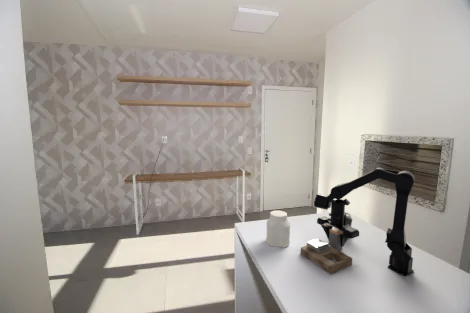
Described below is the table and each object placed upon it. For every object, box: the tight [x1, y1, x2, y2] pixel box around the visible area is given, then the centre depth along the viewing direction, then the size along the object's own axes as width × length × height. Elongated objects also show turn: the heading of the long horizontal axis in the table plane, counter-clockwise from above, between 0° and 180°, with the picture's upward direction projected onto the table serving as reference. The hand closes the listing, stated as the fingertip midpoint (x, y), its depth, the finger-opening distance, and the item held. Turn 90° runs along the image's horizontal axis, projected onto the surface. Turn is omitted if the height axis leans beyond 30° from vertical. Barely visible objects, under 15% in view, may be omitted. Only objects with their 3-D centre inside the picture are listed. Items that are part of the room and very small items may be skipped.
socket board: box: [300, 245, 353, 275], centre depth 93 cm, size 16×13×3 cm
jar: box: [265, 210, 291, 248], centre depth 107 cm, size 12×10×15 cm
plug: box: [328, 227, 343, 251], centre depth 102 cm, size 4×4×9 cm
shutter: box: [306, 238, 331, 254], centre depth 96 cm, size 7×7×3 cm
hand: (335, 243), depth 102 cm, fingers open, 6 cm apart
